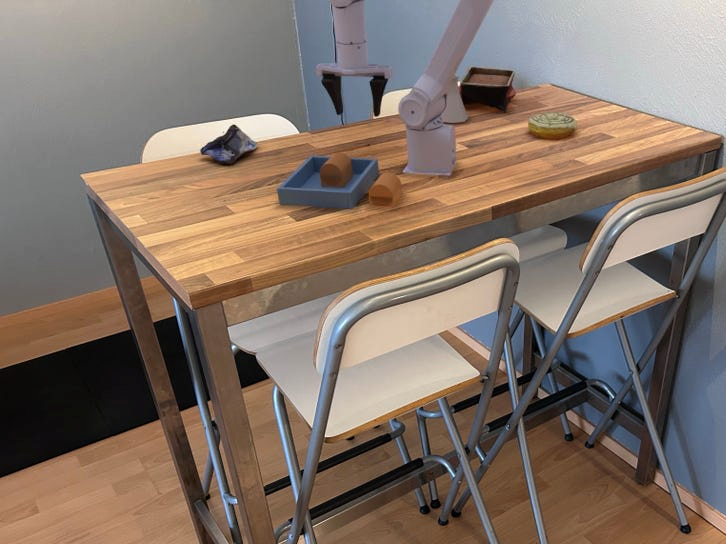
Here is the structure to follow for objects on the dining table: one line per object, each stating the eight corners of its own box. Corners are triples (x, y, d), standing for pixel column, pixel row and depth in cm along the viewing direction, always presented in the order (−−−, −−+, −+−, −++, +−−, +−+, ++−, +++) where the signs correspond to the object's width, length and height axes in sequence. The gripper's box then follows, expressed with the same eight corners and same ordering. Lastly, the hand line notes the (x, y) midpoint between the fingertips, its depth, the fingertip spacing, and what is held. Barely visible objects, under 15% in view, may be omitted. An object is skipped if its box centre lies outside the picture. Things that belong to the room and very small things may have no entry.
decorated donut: (585, 135, 164) (587, 118, 162) (547, 144, 160) (548, 126, 157) (556, 123, 172) (557, 106, 169) (519, 131, 167) (519, 114, 164)
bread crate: (379, 176, 144) (377, 158, 142) (353, 212, 130) (350, 192, 128) (312, 173, 146) (310, 155, 144) (279, 207, 132) (276, 188, 130)
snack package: (272, 158, 154) (253, 141, 161) (262, 129, 149) (243, 113, 157) (217, 179, 150) (200, 161, 157) (205, 150, 145) (189, 133, 153)
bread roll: (402, 196, 136) (400, 172, 133) (393, 209, 131) (391, 185, 129) (379, 195, 137) (377, 171, 134) (369, 208, 132) (367, 183, 129)
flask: (467, 124, 171) (467, 79, 166) (436, 124, 172) (435, 79, 166) (468, 114, 177) (468, 71, 172) (438, 115, 178) (437, 71, 172)
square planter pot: (521, 106, 190) (520, 64, 186) (508, 115, 174) (507, 69, 170) (467, 107, 193) (465, 66, 189) (449, 116, 178) (446, 71, 173)
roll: (353, 176, 143) (350, 153, 140) (343, 187, 138) (341, 164, 136) (331, 175, 144) (328, 151, 141) (321, 186, 139) (318, 162, 136)
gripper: (307, 44, 137) (316, 118, 144) (383, 47, 135) (388, 121, 142) (319, 36, 142) (328, 108, 150) (392, 38, 140) (397, 111, 148)
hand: (358, 114), depth 147 cm, fingers open, 7 cm apart
